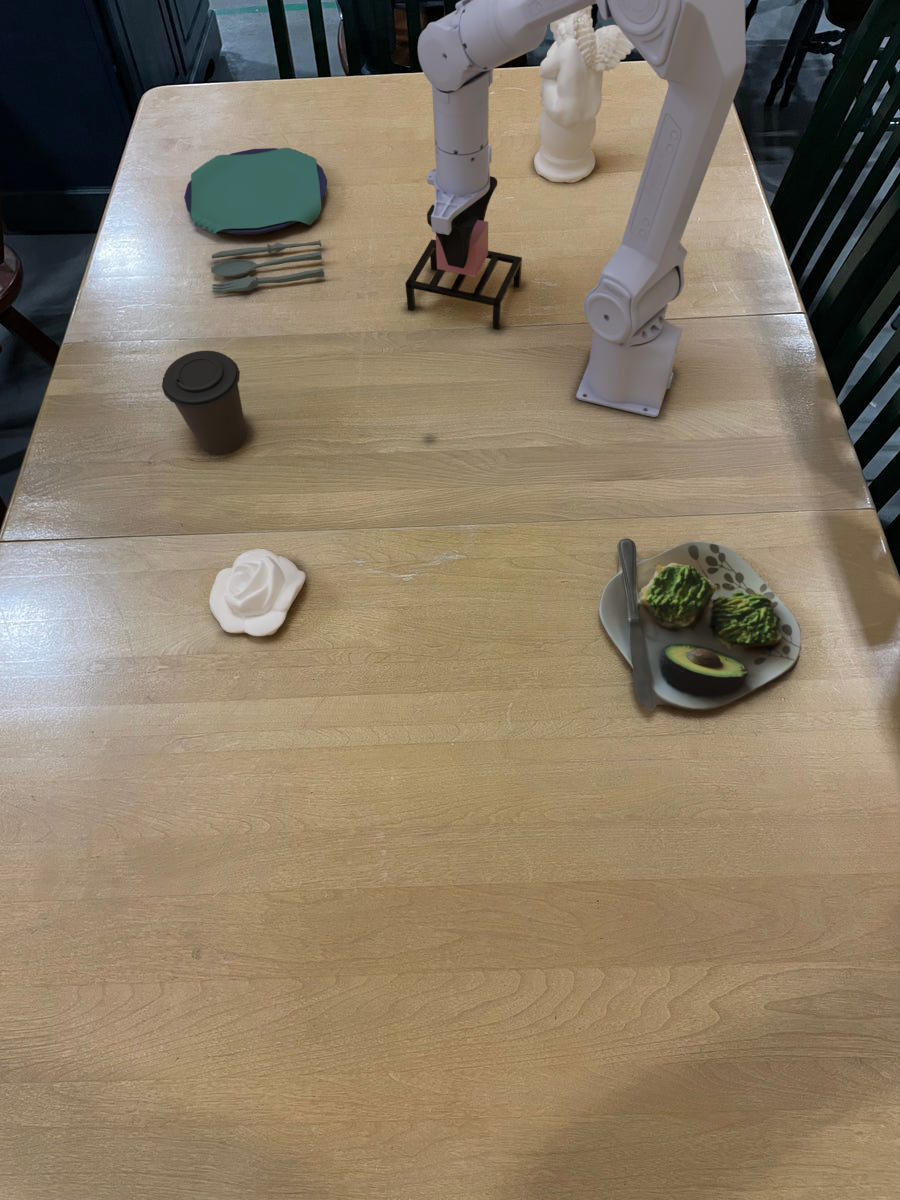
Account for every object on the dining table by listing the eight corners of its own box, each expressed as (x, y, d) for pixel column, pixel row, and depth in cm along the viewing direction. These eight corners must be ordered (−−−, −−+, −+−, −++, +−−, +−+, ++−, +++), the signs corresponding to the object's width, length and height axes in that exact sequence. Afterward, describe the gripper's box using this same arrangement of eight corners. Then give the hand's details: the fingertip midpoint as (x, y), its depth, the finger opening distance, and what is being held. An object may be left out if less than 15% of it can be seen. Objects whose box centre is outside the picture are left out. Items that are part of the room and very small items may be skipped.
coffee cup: (173, 453, 95) (142, 387, 86) (210, 404, 99) (184, 335, 90) (236, 473, 93) (211, 407, 84) (271, 421, 97) (251, 354, 88)
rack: (520, 284, 108) (522, 257, 105) (498, 330, 104) (499, 303, 100) (432, 266, 111) (431, 238, 107) (407, 310, 106) (405, 283, 103)
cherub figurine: (537, 142, 125) (547, -31, 106) (622, 146, 124) (647, -28, 105) (529, 191, 118) (539, 16, 100) (619, 196, 117) (645, 20, 99)
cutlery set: (324, 153, 125) (321, 137, 123) (341, 283, 109) (338, 267, 107) (188, 169, 124) (184, 153, 122) (186, 302, 108) (180, 287, 106)
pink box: (488, 255, 103) (488, 221, 100) (476, 277, 101) (476, 244, 97) (449, 247, 104) (448, 213, 101) (437, 269, 102) (435, 235, 98)
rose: (316, 597, 79) (215, 635, 77) (323, 621, 83) (227, 658, 81) (284, 519, 84) (188, 553, 82) (292, 545, 87) (201, 578, 86)
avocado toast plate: (549, 580, 84) (553, 553, 80) (700, 514, 88) (710, 485, 84) (658, 743, 75) (668, 722, 71) (821, 662, 78) (839, 637, 75)
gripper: (449, 99, 94) (453, 210, 106) (401, 171, 87) (410, 283, 99) (510, 109, 93) (506, 221, 105) (465, 183, 86) (467, 295, 97)
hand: (463, 252), depth 102 cm, fingers closed on pink box, 4 cm apart
